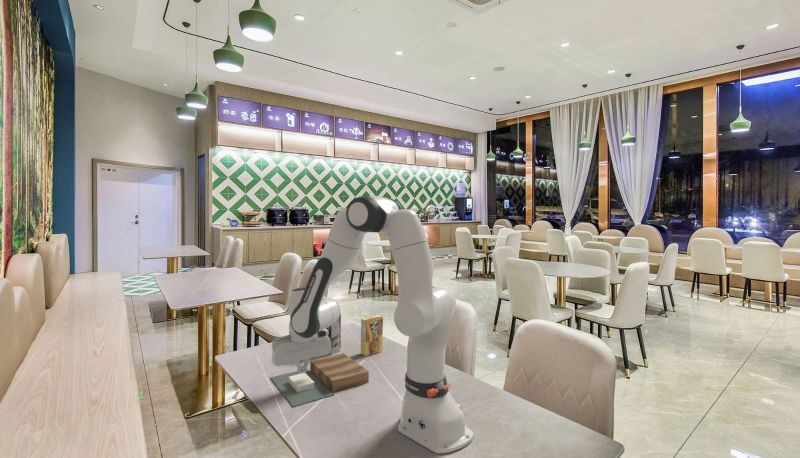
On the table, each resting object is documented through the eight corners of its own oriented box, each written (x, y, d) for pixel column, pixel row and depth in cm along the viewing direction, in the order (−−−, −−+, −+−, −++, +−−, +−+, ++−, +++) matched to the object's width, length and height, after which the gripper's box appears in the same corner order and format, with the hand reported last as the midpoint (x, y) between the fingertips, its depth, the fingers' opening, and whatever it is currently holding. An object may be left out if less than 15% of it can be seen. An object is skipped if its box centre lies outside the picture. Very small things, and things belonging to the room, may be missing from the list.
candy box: (377, 348, 173) (377, 314, 172) (382, 351, 170) (383, 316, 168) (360, 353, 167) (360, 318, 166) (365, 356, 164) (366, 320, 163)
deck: (368, 381, 141) (368, 371, 141) (332, 392, 133) (332, 380, 133) (343, 362, 157) (343, 353, 157) (310, 370, 149) (310, 360, 149)
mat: (334, 395, 131) (334, 394, 131) (293, 407, 123) (293, 406, 123) (306, 369, 151) (306, 368, 151) (270, 378, 143) (270, 377, 143)
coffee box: (341, 350, 170) (341, 313, 169) (331, 355, 165) (331, 317, 164) (325, 345, 175) (325, 310, 174) (315, 350, 170) (315, 313, 169)
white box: (297, 386, 132) (297, 392, 132) (314, 382, 135) (314, 387, 135) (288, 376, 139) (288, 382, 139) (304, 372, 142) (304, 378, 143)
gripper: (274, 341, 127) (275, 382, 128) (332, 330, 139) (332, 368, 140) (269, 335, 132) (269, 375, 133) (325, 325, 144) (325, 362, 145)
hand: (302, 371), depth 137 cm, fingers closed
